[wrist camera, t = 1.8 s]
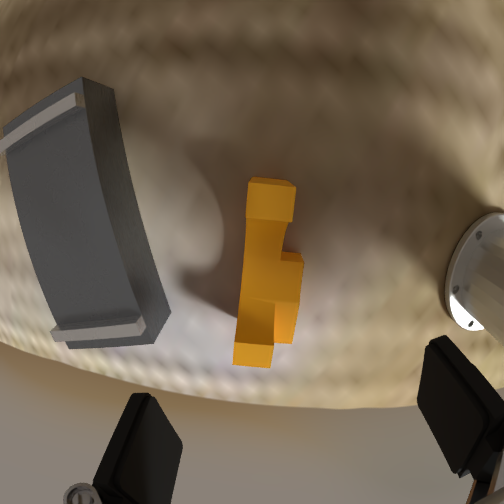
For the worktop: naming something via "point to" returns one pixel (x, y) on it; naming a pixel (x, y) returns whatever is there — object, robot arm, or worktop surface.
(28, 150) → the mounting block
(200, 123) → the worktop surface
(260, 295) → the orange stepped block
